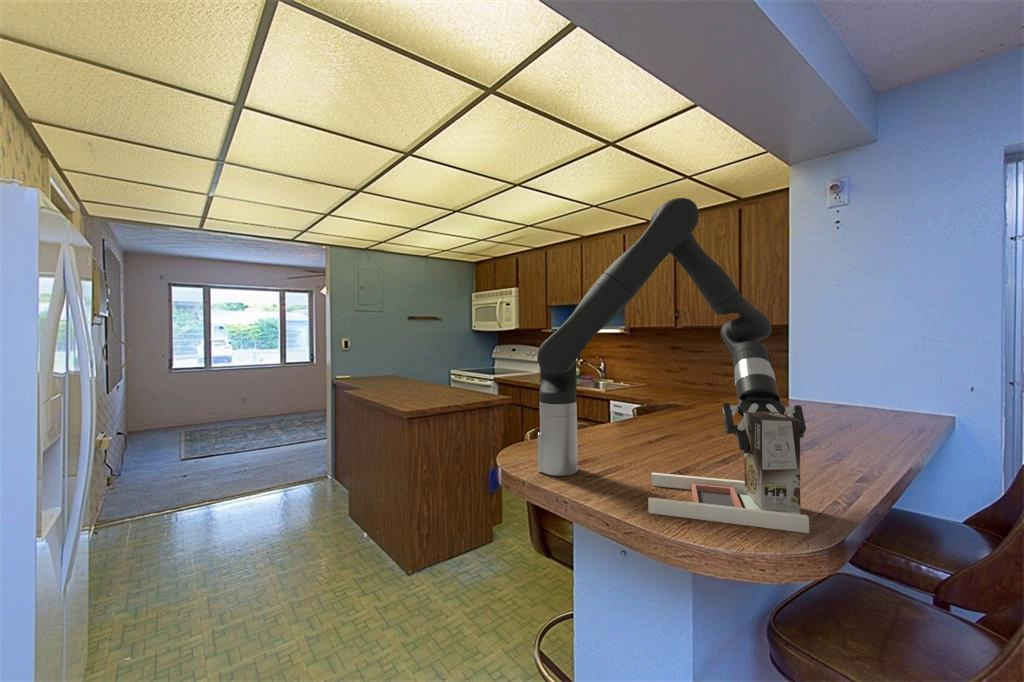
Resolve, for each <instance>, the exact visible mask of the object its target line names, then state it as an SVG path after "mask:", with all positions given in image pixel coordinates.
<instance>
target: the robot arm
mask: <svg viewBox="0 0 1024 682" xmlns="http://www.w3.org/2000/svg"><path fill="white" fill-rule="evenodd" d="M699 214H700V213H699V209H698V206H697V204H696V203H695V201H693V200H692V199H690V198H687V197H677V198H673V199H670V200H667V201H666V202H664V203H663V204H662V205H660V206H659V207H658V208H656V210H654V212H653V213H652V215H651V217H650V219H649V220H650V221H649V226H648V227H647V228H646V229H645V231H644V233H643V234H641V236H640V237H639V238H638V240H637V241H636V242H635V243H634V244H632V246H630V247H629V248H628V249H626V251H624V252H623V253H622V254H621V255H620V256H618V257H617V259H615V260H614V261H613V263H611V264H610V265H609V266H608V267H607V268H606V269H605V270H604V272H603V273H602V274H601V275H600V276H599V277H598V279H596V281H595V282H594V283H593V284H592V286H591V287H590V289H589V290H587V292H586V293H585V294H584V296H583V298H582V299H581V301H580V302H579V303H578V305H577V306H576V308H575V309H574V310H573V312H572V313H571V314H570V316H569V317H568V318H567V319H566V320H565V322H564V323H563V324H562V325H560V326H559V328H557V329H556V331H554V332H553V333H552V334H551V335H550V336H549V337H548V338H546V339H545V340H544V341H543V342H542V343H541V344H540V346H539V348H538V350H537V356H536V358H537V364H538V366H539V369H540V370H539V372H540V374H539V376H540V378H539V379H540V382H539V384H540V385H539V392H538V394H539V396H538V397H539V432H538V433H537V470H538V471H537V472H538V473H544V474H545V475H547V476H548V475H549V476H555V477H557V476H558V477H561V476H562V477H563V476H564V477H565V476H572V475H576V474H577V473H578V471H579V460H578V459H579V457H578V455H579V454H578V453H579V452H578V451H579V450H578V416H577V415H578V410H577V409H578V406H577V404H578V403H577V395H578V394H577V389H578V387H577V386H578V385H577V360H578V358H579V356H580V355H581V353H583V350H584V349H585V348H586V346H587V345H588V344H589V343H590V341H592V339H593V338H594V337H595V336H596V334H598V333H599V332H600V331H601V330H602V329H603V328H605V327H606V326H607V325H608V324H609V323H611V321H612V320H613V319H615V318H616V317H617V316H618V315H619V314H620V313H621V312H622V311H623V310H624V309H625V308H626V306H627V305H628V304H629V303H630V301H632V300H633V298H634V297H635V296H636V295H637V293H638V292H639V291H640V290H641V289H642V287H643V286H644V285H645V284H646V282H647V281H648V280H649V278H650V277H651V275H652V274H653V273H654V272H655V271H656V269H657V268H658V266H659V265H660V264H661V262H662V261H663V260H665V258H666V257H667V256H668V255H672V257H673V258H674V259H675V260H676V261H677V263H679V265H680V266H681V267H682V269H683V270H684V271H685V272H686V274H687V275H688V276H689V277H690V279H691V281H692V282H693V283H694V285H695V286H696V288H697V289H698V290H699V292H700V294H701V295H702V297H703V298H704V300H705V301H706V303H707V305H708V306H709V307H710V308H711V310H712V312H713V314H715V315H716V316H717V315H718V316H724V315H730V314H738V315H740V316H738V317H736V318H733V319H731V320H729V321H727V322H725V323H724V324H723V325H722V326H721V327H720V336H721V338H722V339H721V340H722V341H723V342H724V343H725V345H726V346H727V348H728V350H729V352H730V354H731V356H732V361H733V362H732V363H733V369H734V386H735V389H736V396H737V401H738V402H737V404H736V405H730V403H729V402H724V403H723V404H722V415H723V422H724V427H725V432H726V433H727V434H729V435H732V434H734V435H735V436H736V438H737V439H736V440H737V445H738V449H739V450H740V451H742V454H744V453H748V441H747V435H746V432H745V431H744V430H745V424H744V412H778V413H781V414H784V415H787V416H789V417H792V418H794V419H797V420H800V439H803V438H804V437H805V432H806V431H807V426H806V422H805V421H806V420H805V417H804V412H803V408H802V406H801V405H800V404H799V405H797V404H796V405H794V407H789V406H788V407H787V406H785V405H784V404H783V402H782V401H781V398H780V393H779V389H778V384H777V381H776V376H775V371H774V370H773V367H772V365H771V361H770V356H769V353H768V349H767V347H766V346H765V344H763V343H761V342H760V341H762V340H764V339H767V338H768V337H769V336H771V333H772V328H773V327H772V323H771V321H770V320H769V318H768V317H767V316H766V315H765V314H763V312H761V311H760V310H759V309H758V308H756V307H755V306H754V305H752V303H750V302H749V301H748V300H747V299H746V298H745V297H744V296H743V295H742V294H741V291H739V289H738V288H737V286H736V285H735V283H734V282H733V280H732V278H731V276H729V274H728V273H727V272H726V271H725V270H724V269H723V268H722V267H721V266H720V265H719V264H718V263H717V262H716V261H715V260H714V259H713V258H712V257H710V256H709V254H707V253H706V252H705V250H704V249H703V248H701V246H700V244H699V242H698V241H697V240H696V238H695V237H694V234H693V232H694V230H695V228H696V227H697V225H698V222H699V217H700V215H699ZM735 413H737V414H739V415H740V416H741V417H742V419H741V421H740V423H739V424H738V425H736V424H734V419H733V416H735Z"/></svg>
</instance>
